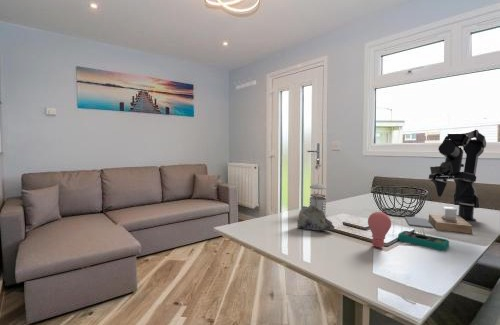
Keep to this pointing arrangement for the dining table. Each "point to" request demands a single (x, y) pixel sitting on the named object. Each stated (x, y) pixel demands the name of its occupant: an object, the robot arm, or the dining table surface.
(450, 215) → the steel peg
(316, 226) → the mineral rock
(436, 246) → the digital multimeter
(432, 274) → the dining table surface
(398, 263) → the dining table surface
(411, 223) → the grey flat slab
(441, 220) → the walnut socket block
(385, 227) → the light bulb
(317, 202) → the french press
